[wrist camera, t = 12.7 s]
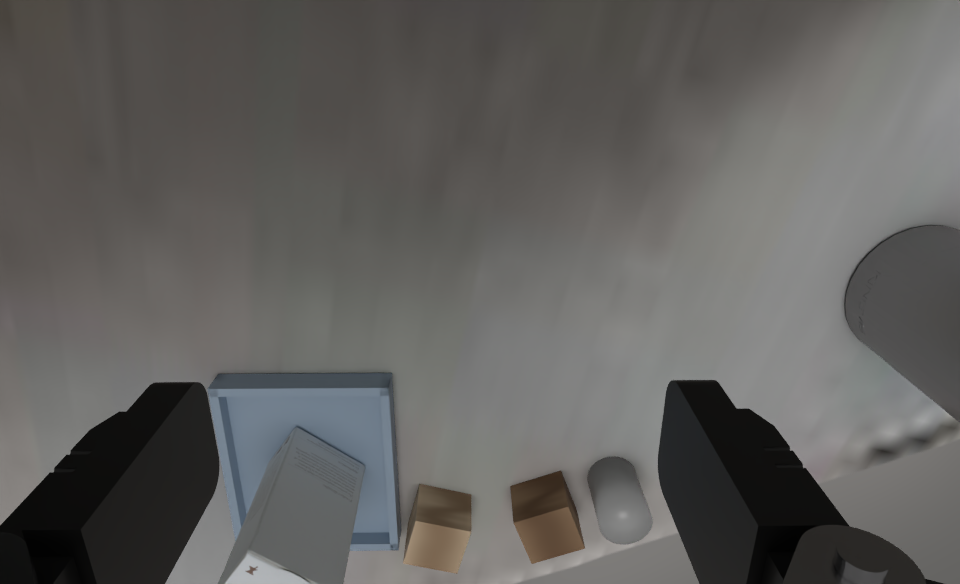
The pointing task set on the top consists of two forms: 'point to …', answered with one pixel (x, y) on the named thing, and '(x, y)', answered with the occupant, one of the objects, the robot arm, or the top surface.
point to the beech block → (438, 529)
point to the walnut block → (546, 517)
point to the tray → (323, 414)
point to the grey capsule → (619, 501)
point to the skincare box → (299, 517)
